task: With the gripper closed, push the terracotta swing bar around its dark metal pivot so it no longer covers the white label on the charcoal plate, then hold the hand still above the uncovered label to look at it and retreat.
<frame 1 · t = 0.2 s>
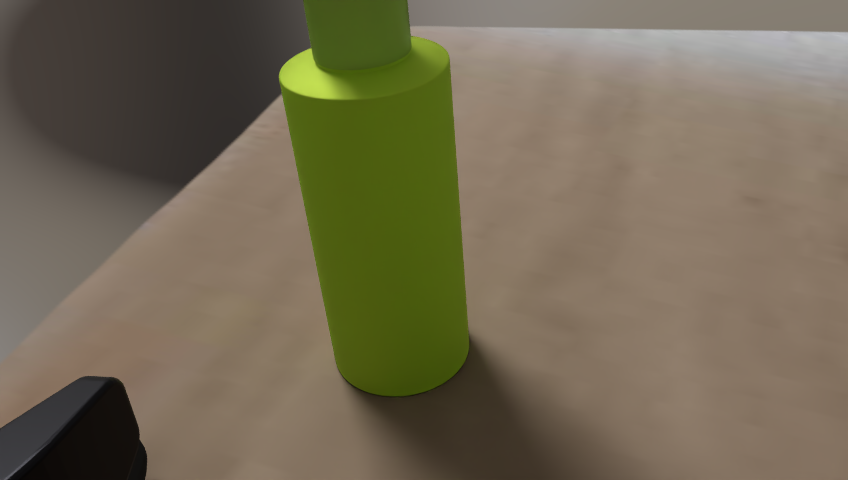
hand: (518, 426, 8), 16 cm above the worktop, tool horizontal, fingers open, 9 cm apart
soap dispenser: (407, 344, 34), on the worktop
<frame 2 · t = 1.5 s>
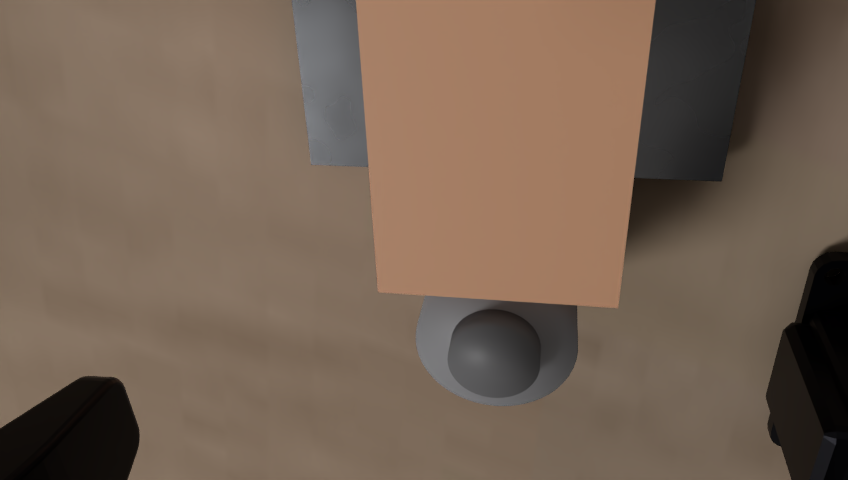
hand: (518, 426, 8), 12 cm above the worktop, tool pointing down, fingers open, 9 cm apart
swing bar: (507, 37, 16), point 3 cm above the worktop, hinge at 0.0°
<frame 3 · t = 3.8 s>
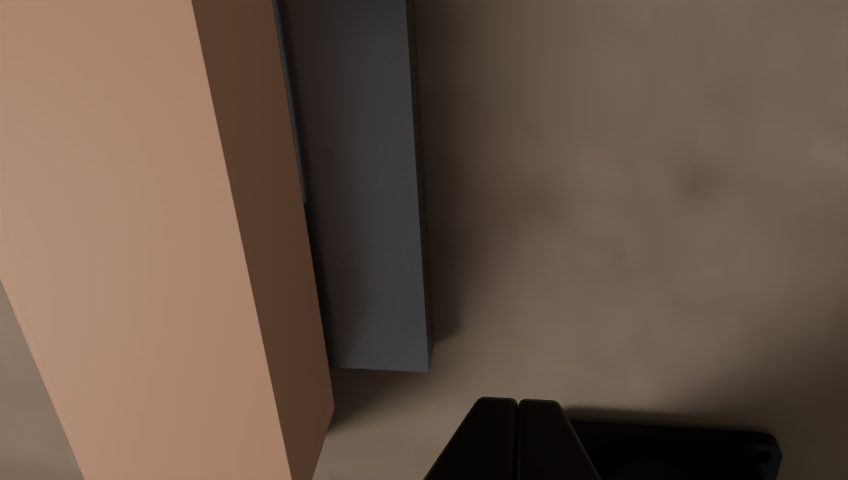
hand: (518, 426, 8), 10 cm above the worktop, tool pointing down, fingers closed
swing bar: (187, 282, 17), point 3 cm above the worktop, hinge at 0.0°
label plate: (207, 122, 18), on the worktop
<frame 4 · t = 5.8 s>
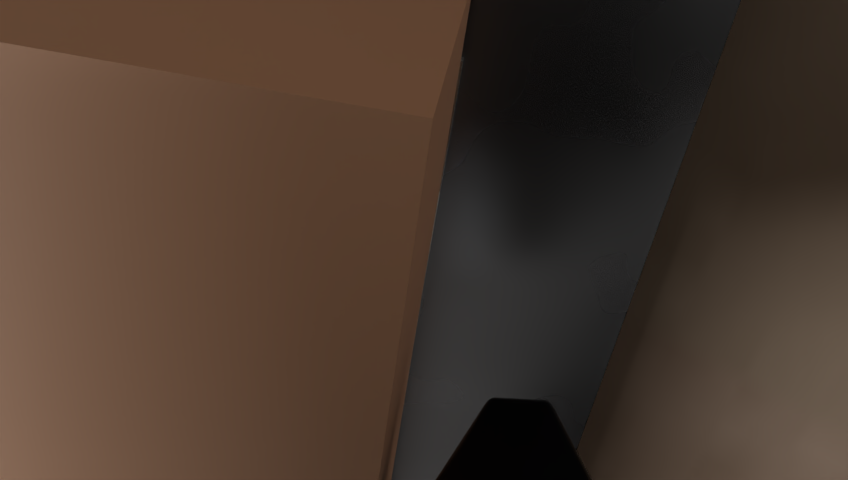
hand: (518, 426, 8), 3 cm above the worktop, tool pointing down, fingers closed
label plate: (262, 291, 12), on the worktop
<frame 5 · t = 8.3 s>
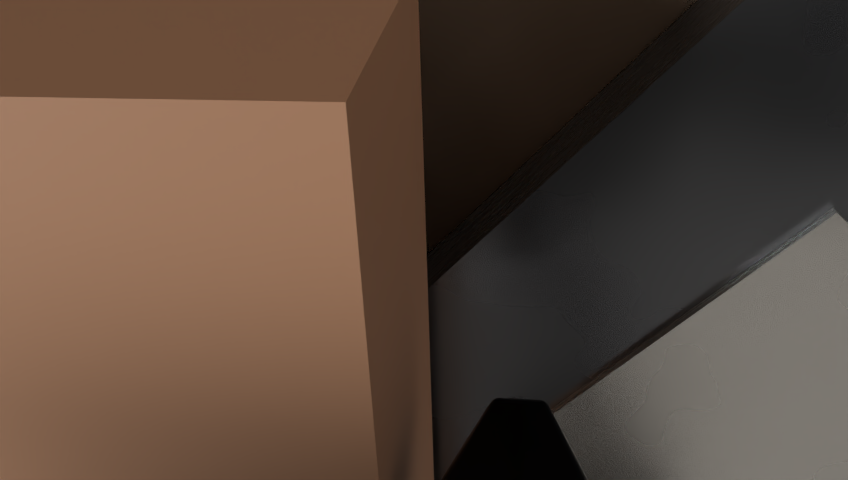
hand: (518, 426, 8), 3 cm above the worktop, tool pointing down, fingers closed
label plate: (658, 443, 12), on the worktop
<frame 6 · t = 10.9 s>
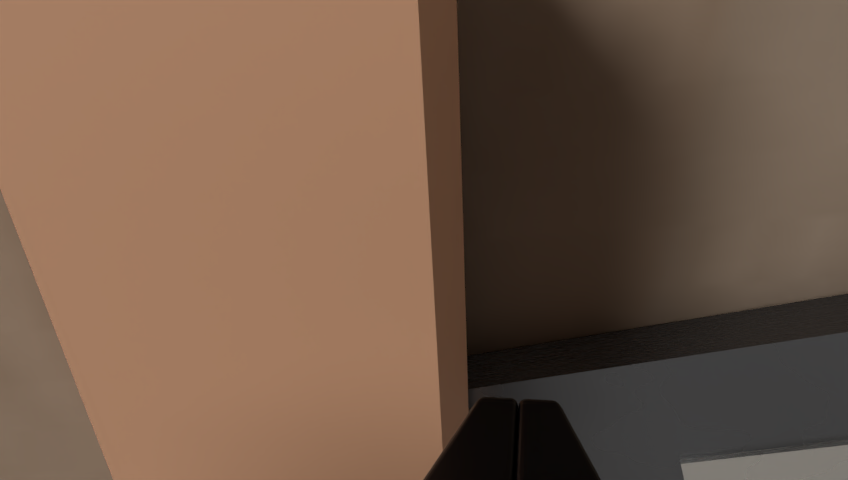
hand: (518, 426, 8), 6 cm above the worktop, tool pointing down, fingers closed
swing bar: (320, 427, 14), point 3 cm above the worktop, hinge at 74.7°
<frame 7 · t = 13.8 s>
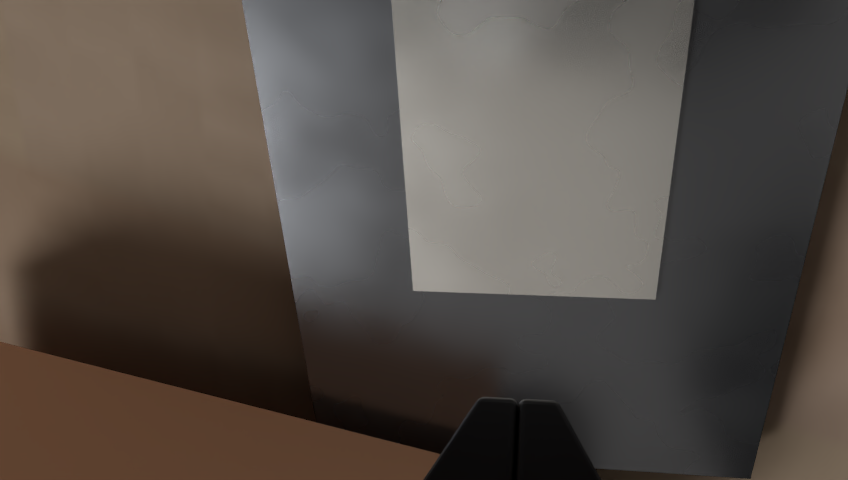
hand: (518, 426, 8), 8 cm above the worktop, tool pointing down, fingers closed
label plate: (534, 202, 16), on the worktop
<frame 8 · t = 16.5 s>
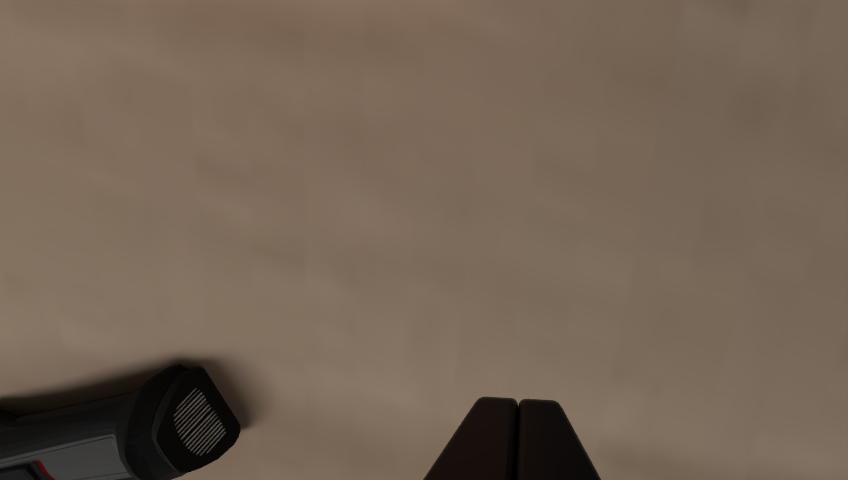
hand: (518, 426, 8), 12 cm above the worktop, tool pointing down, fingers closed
electric trimmer: (58, 424, 29), on the worktop
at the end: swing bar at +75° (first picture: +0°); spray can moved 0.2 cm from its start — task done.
